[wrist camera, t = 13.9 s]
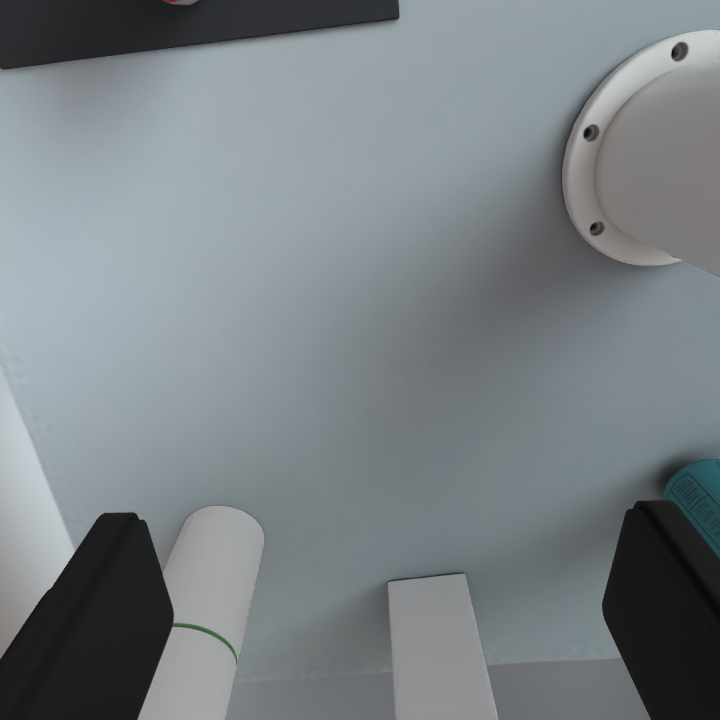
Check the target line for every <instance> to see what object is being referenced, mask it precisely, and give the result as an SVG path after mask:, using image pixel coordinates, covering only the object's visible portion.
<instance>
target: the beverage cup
mask: <svg viewBox="0 0 720 720" xmlns="http://www.w3.org/2000/svg"><path fill="white" fill-rule="evenodd" d="M163 1H165V2H168V3H171V4H179V5H191V4H193V3H195V2H197V1H199V0H163Z"/></svg>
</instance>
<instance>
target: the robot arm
mask: <svg viewBox="0 0 720 720" xmlns="http://www.w3.org/2000/svg"><path fill="white" fill-rule="evenodd" d="M672 49H673V50H674V56H673V57H671V52H672ZM586 128H587V129H588V130H589V134H588V135H587V136H586V137H585V138H584V136H583V134H584V130H585V129H586ZM562 189H563V195H564V200H565V205H566V209H567V211H568V213H569V216H570V218H571V221H572V223H573V225H574V226H575V228H576V229H577V230H578V232H579V233H580V235H581V236H582V237H583V239H585V240H586V241H587V242H588V243H589V244H590V245H591V246H593V247H594V248H595V249H596V250H598V251H600V252H602V253H603V254H605V255H606V256H608V257H610V258H613V259H615V260H618V261H620V262H623V263H626V264H632V265H638V266H663V265H669V264H674V263H679V262H682V261H685V262H687V263H689V264H692V265H694V266H696V267H698V268H701V269H703V270H705V271H707V272H709V273H712V274H714V275H716V276H718V277H720V31H718V30H703V31H696V32H689V33H683V34H680V35H676V36H673V37H669V38H666V39H663V40H661V41H659V42H656V43H654V44H652V45H650V46H648V47H646V48H643V49H641V50H640V51H639V52H637V53H636V54H634V55H633V56H631V57H630V58H628V59H627V60H625V61H624V62H623V63H621V64H620V65H619V66H618V67H617V68H616V69H615V70H614V71H613V72H612V73H610V74H609V75H608V76H607V77H606V78H605V79H604V80H603V81H602V82H601V83H600V85H599V86H598V87H597V89H596V90H595V91H594V93H593V94H592V95H591V96H590V98H589V99H588V100H587V102H586V103H585V105H584V107H583V109H582V111H581V112H580V114H579V116H578V118H577V120H576V122H575V123H574V126H573V129H572V132H571V134H570V137H569V140H568V143H567V145H566V151H565V156H564V161H563V167H562ZM593 223H595V226H594V228H593V229H591V230H590V227H591V225H592V224H593ZM602 610H603V615H604V619H605V622H606V624H607V626H608V629H609V631H610V633H611V635H612V637H613V639H614V641H615V644H616V646H617V648H618V650H619V652H620V654H621V656H622V658H623V661H624V663H625V665H626V667H627V669H628V671H629V673H630V676H631V678H632V680H633V682H634V684H635V686H636V688H637V691H638V693H639V695H640V697H641V699H642V701H643V703H644V706H645V708H646V710H647V712H648V714H649V716H650V718H651V720H720V558H719V557H718V556H717V554H716V553H715V552H714V551H713V549H712V548H711V547H710V546H709V544H708V543H707V542H706V541H705V539H704V538H703V537H702V535H701V534H700V533H699V532H698V530H697V529H696V528H695V527H694V525H693V524H692V523H691V522H690V520H689V519H688V518H687V517H686V515H685V514H684V513H683V511H682V510H681V509H680V508H679V506H678V505H677V504H676V503H675V502H673V501H671V500H650V501H637V502H636V503H635V505H634V508H633V509H628V510H627V511H626V513H625V517H624V521H623V525H622V529H621V532H620V536H619V540H618V544H617V548H616V552H615V555H614V559H613V563H612V567H611V571H610V575H609V579H608V582H607V586H606V590H605V594H604V598H603V602H602ZM173 621H174V610H173V606H172V603H171V600H170V596H169V593H168V590H167V587H166V584H165V580H164V577H163V574H162V571H161V568H160V565H159V561H158V558H157V555H156V552H155V549H154V545H153V542H152V539H151V536H150V533H149V530H148V526H147V524H146V522H145V521H144V520H139V518H138V516H137V514H135V513H133V512H127V513H104V514H102V515H100V516H99V518H98V519H97V520H96V522H95V523H94V525H93V526H92V528H91V529H90V531H89V532H88V534H87V535H86V537H85V538H84V540H83V541H82V543H81V544H80V546H79V547H78V549H77V550H76V552H75V553H74V555H73V556H72V558H71V559H70V561H69V562H68V564H67V565H66V567H65V568H64V570H63V572H62V573H61V575H60V576H59V577H58V579H57V580H56V582H55V583H54V585H53V587H52V588H51V589H49V590H48V591H47V592H46V593H45V595H44V596H43V597H42V598H41V600H40V601H39V603H38V604H37V605H36V607H35V609H34V610H33V612H32V613H31V615H30V616H29V617H28V619H27V620H26V622H25V623H24V625H23V626H22V628H21V629H20V631H19V632H18V634H17V635H16V637H15V638H14V640H13V641H12V643H11V644H10V646H9V647H8V649H7V650H6V652H5V653H4V655H3V656H2V658H1V659H0V720H138V717H139V714H140V712H141V709H142V706H143V704H144V701H145V698H146V696H147V693H148V691H149V688H150V685H151V683H152V680H153V677H154V675H155V672H156V669H157V667H158V664H159V662H160V659H161V656H162V654H163V651H164V648H165V646H166V643H167V640H168V638H169V635H170V632H171V630H172V626H173Z"/></svg>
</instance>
